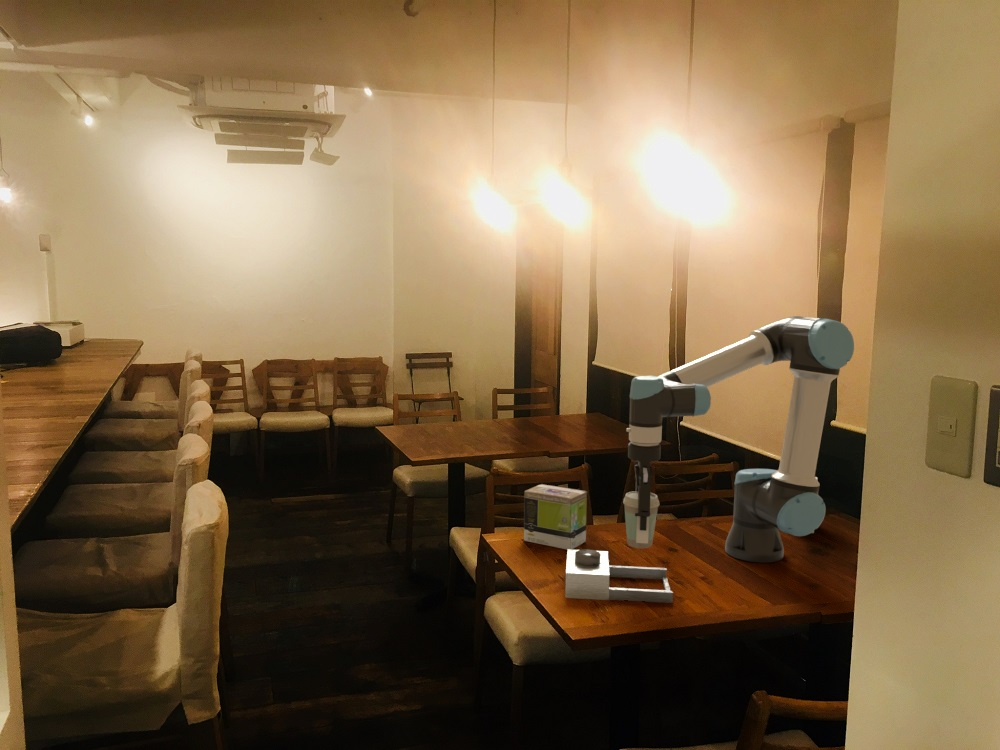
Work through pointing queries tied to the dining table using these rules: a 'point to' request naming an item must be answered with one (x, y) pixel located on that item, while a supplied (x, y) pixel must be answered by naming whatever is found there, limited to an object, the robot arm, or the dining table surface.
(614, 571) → the button box with rail
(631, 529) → the coffee cup
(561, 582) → the dining table surface
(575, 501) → the tea box
